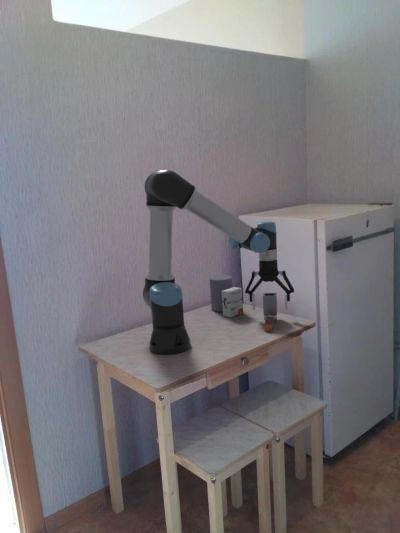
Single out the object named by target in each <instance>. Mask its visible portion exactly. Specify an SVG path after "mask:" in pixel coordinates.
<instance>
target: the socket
mask: <svg viewBox="0 0 400 533" xmlns="http://www.w3.org/2000/svg"><path fill="white" fill-rule="evenodd" d="M277 294H278V293H277V292H263V295H262V307H263V308H262V310H263V316H264V315H277V316H278V295H277Z"/></svg>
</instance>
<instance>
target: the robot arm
mask: <svg viewBox="0 0 400 533" xmlns="http://www.w3.org/2000/svg"><path fill="white" fill-rule="evenodd" d="M144 191H145V195H146V203H145V205H146V208H147V209H148V210H149V250H148V251H149V257H148V258H149V259H148V260H149V261H148V262H149V264H148V269H149V270H148V273H147V274H145V276H144V287H143V288H142V289H143V290H142V298H143V301H144V303H145V304H146V306H148V308H149V309H150V311H151V313H150V314H151V321H152V323H151V324H152V331H151V336H150V340H149V350H150V352H152V353H154V354H157V355H175V354H179V353H183V352H186V351H187V350H189V349H190V348H191V338H190V336H189V333H188V331H187V328H186V325H185V317H184V316H185V315H184V304H183V303H184V302H183V300H184V299H183V296H184V295H183V291H182V287H181V286H180V285H179V284H178V283H175V282H176V277H175V276H174V274H172V255H173V254H172V252H173V250H172V248H173V221H174V220H173V218H174V216H173V214H174V211H175V210H176V208H178V209H179V210H186V211H188V212H190V213H191V214H193V215H194V216H196V217H197V218H199V219H200V220H202V221H204V222H205V223H207V224H208V225H210V226H212V227H214V228H215V229H216V230H218V231H220V232H221V233H223V234H224V235H226V236H228V241H229V242H228V243H229V246H230V248H231V249H234V250H235V249H238V250H240V249H245V250H248V251H251V252H253V253H257V254H258V259H259V260H258V267H259V268H258V270H259V271H256V270H252V272H251V277H250V279H249V282H248V284H247V286H246V289H245V290H244V293H245V294H248V295H249V302H250V303H252V310H253V311H255V310H256V301H255V300H256V299H255V296H256V295H255V293H254V292H255V291H256V290H257V289H258V288H259V286H261V284H262V282H265V283H267V282H268V283H272V282H275V283H276V284H277V285H278V286H279V287H280V288H281V289H282V290H283V291H284V292H285V293H284V302H285V304H284V305H285V310H288V302H291V294H292V293H295V288H294V287H293V285H292V283H291V281H290V280H289V278H288V276H287V274H286V273H287V272H286V270H285V269H283V270H279V269H278V268H279V267H278V266H279V265H278V259H277V258H278V248H277V247H278V246H277V242H278V241H277V234H278V233H277V225H276V223H275V222H274V221H259V222H258V223H257V224H256V225H257V226H256V227H252V225H250V224H247V223H246V222H245V221H243V220H242V219H240V218H238V217H237V216H235V215H234V214H232V213H231V212H230V211H228V210H226V209H225V208H223V207H222V206H221V205H219V204H217V203H216V202H214V201H212V200H211V199H210V198H208V197H206V196H205V195H204V194H202V193H200V192H199V191H197V189H196V186H195V185H193V184H192V183H191V182H189V181H188V180H187V179H185V178H184V177H182V176H181V175H180V174H179V173H177V172H175V171H173V170H170V169H161V170H155V171H153V172H152V173H150V174H149V175H148V176H147V178H146V180H145V182H144ZM279 275H280V276H282V277H283V279H284V281H285V284H286V285H287V286H288V287H287V286H286V285H285V284H284V283H283V281H281V280H280V279H279V277H278V276H279ZM257 276H259V277H260V278H259V279H258V281H257V282H256V283H255V284H254V286H252V284H253V282H254V280H255V278H256V277H257ZM251 286H252V288H251ZM250 288H251V289H250ZM288 288H289V289H288Z"/></svg>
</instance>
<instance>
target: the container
mask: <svg viewBox="0 0 400 533" xmlns="http://www.w3.org/2000/svg"><path fill="white" fill-rule="evenodd" d="M230 288H233V277H232V275H225V274H223V275H214V276H211V277H209V290H210V301H211V302H210V304H211V305H210V306H211V307H210V308H211V310H212V311H214V312H219V311H223V306H222V291H223V290H226V289H230Z"/></svg>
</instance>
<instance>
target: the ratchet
mask: <svg viewBox="0 0 400 533" xmlns="http://www.w3.org/2000/svg"><path fill="white" fill-rule="evenodd" d="M263 320H265V321H264V325H263V326H264V332H267V333H268V332H271V333H272V332H273V329H274V322H276V321H275V320H277V321H278V314H277V315H264V314H263ZM273 321H274V322H273Z"/></svg>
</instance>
